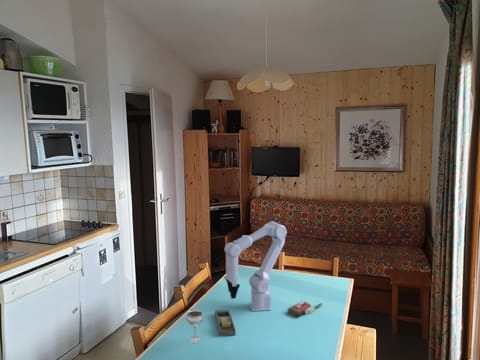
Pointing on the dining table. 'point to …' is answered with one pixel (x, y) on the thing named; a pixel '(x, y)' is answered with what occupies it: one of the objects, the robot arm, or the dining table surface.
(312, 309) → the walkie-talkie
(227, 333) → the grey compartment tray
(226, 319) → the nut block
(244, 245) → the robot arm
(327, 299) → the dining table surface
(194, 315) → the wineglass
